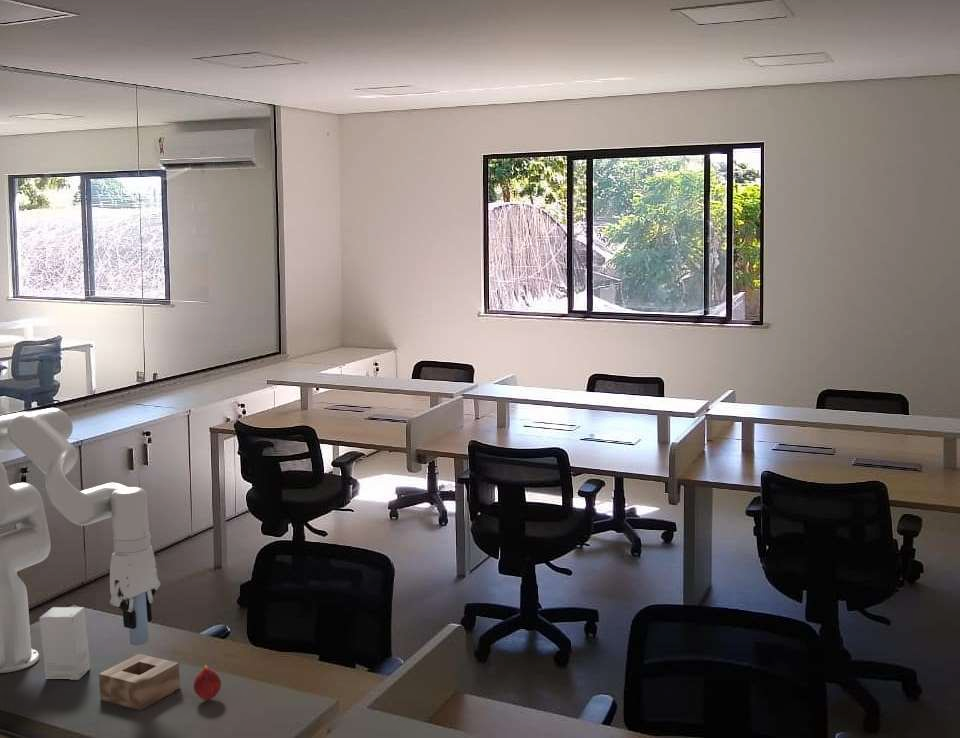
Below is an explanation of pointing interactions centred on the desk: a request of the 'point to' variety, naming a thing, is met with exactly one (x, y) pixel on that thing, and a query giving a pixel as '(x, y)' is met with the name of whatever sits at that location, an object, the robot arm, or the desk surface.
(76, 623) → the skincare box
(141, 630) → the pin
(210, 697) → the onion
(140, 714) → the desk surface
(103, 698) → the bore block
